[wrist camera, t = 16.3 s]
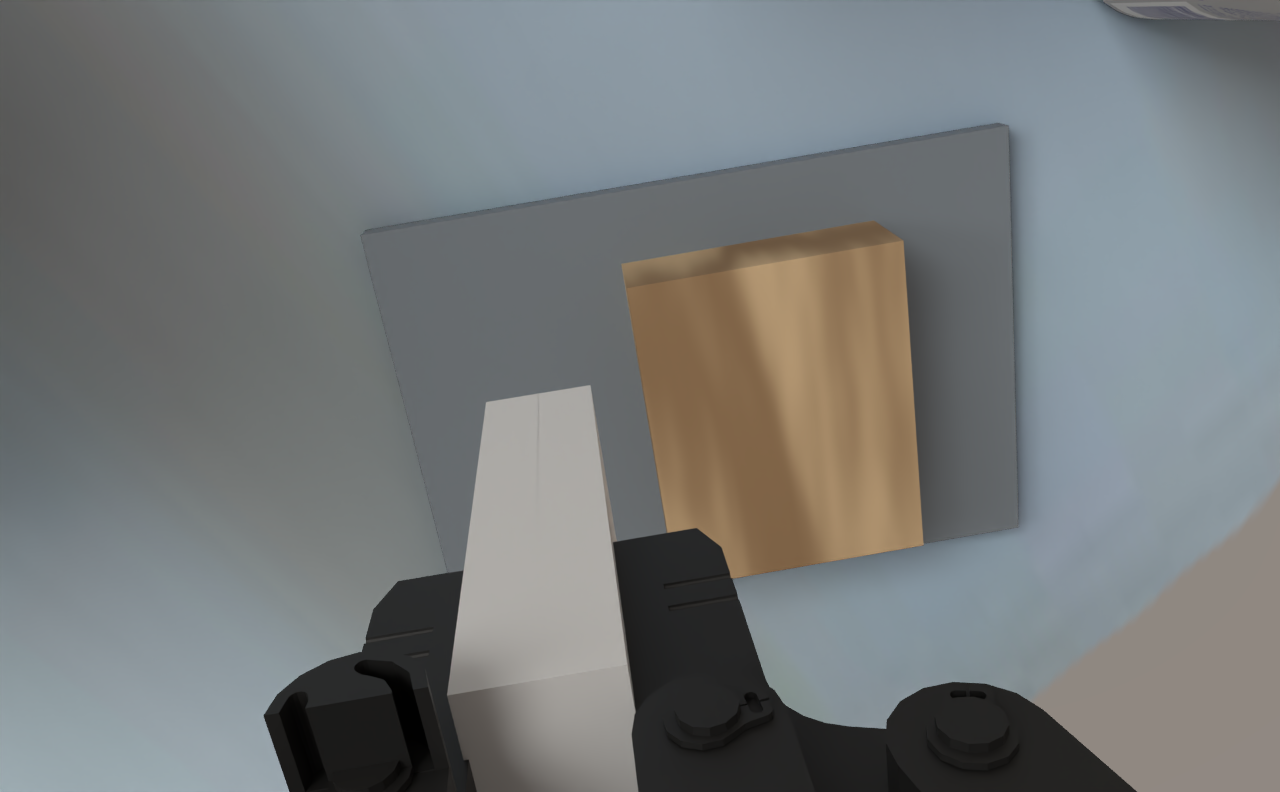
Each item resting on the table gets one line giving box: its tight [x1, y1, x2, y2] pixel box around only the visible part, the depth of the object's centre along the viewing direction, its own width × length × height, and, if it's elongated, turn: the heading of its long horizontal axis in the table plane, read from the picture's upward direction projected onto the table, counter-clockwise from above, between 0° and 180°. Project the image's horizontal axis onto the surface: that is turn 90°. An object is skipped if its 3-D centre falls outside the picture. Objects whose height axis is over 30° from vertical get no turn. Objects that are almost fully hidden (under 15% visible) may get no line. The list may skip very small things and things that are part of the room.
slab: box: [621, 220, 923, 579], centre depth 32 cm, size 3×10×8 cm
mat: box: [360, 123, 1018, 573], centre depth 34 cm, size 20×14×1 cm
